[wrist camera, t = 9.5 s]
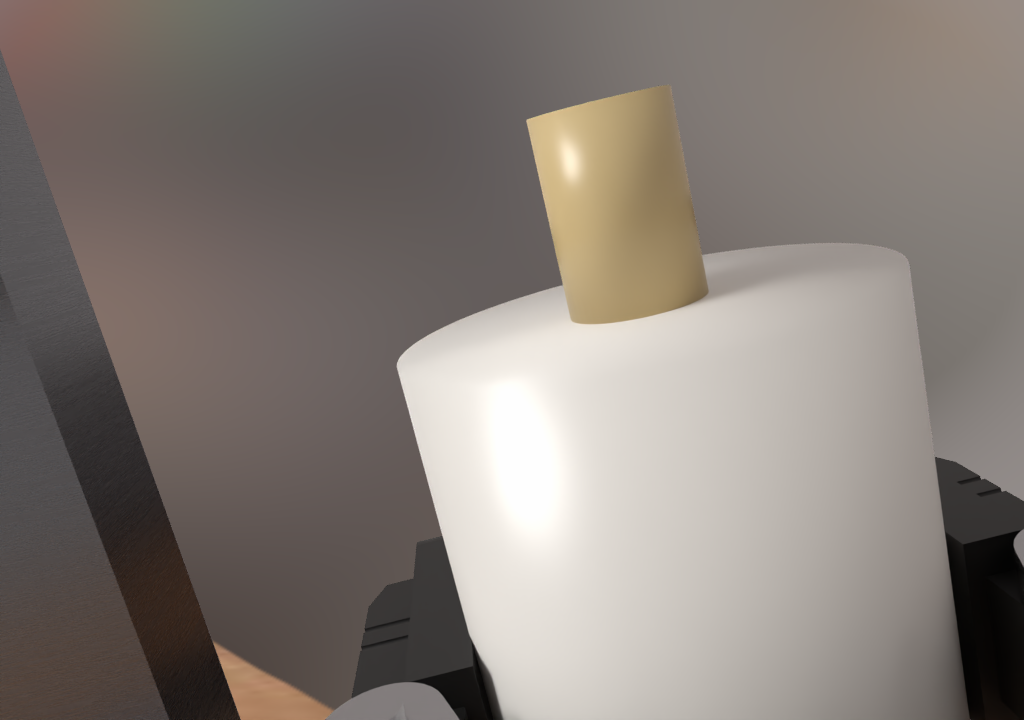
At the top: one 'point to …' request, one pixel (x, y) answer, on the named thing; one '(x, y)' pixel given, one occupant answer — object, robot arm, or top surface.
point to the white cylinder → (688, 461)
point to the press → (80, 496)
